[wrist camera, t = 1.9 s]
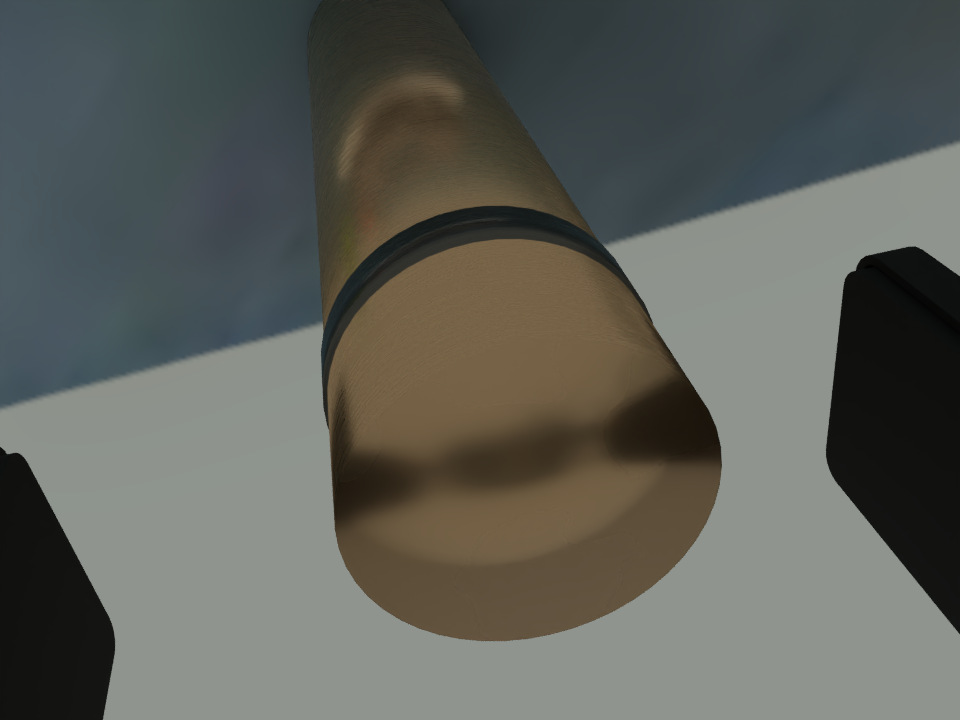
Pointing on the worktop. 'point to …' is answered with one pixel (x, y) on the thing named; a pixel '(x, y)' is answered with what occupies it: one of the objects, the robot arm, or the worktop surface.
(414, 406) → the thermos bottle
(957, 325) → the robot arm
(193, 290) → the worktop surface
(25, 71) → the worktop surface
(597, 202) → the worktop surface
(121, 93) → the worktop surface
